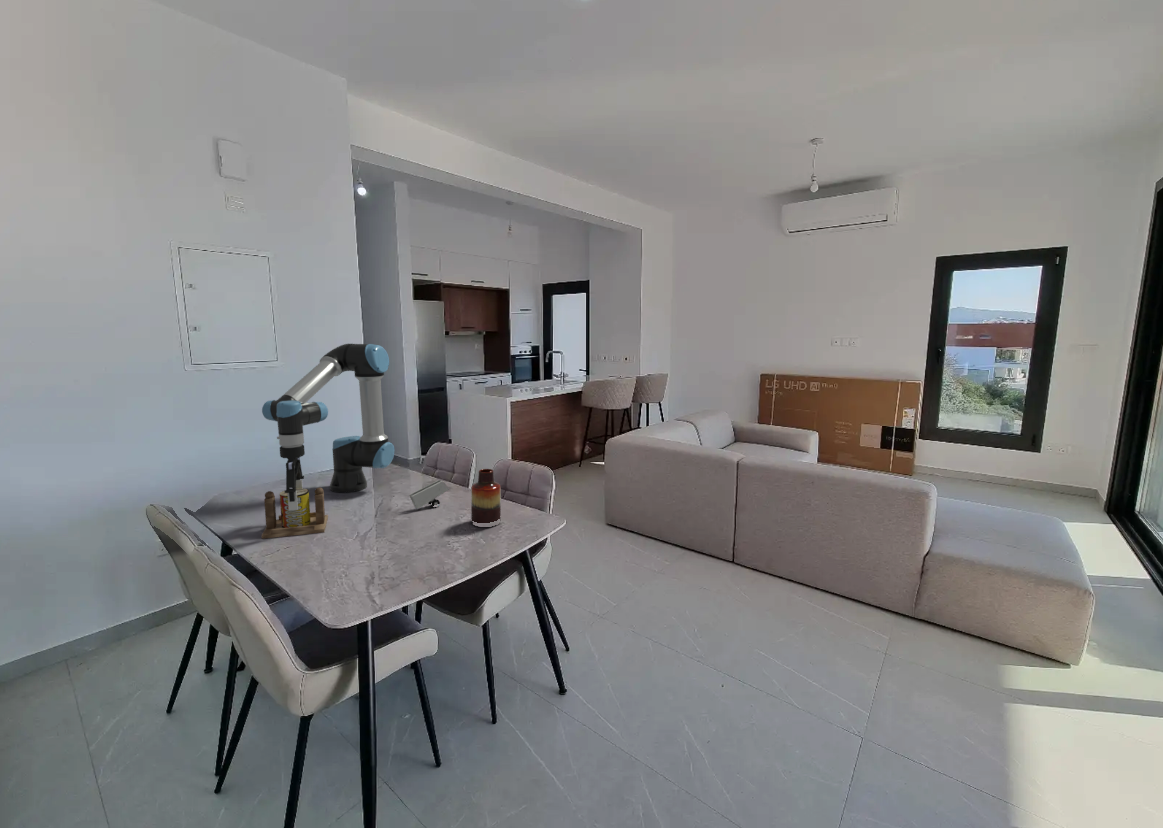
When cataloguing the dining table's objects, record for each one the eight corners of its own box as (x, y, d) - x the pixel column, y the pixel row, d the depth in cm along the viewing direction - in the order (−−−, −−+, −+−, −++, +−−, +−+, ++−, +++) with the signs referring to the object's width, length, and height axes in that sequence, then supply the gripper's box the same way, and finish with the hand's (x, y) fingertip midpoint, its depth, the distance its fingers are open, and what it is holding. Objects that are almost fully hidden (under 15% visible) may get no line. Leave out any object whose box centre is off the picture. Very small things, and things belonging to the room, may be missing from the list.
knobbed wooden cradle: (327, 517, 194) (326, 481, 191) (324, 532, 180) (322, 493, 178) (270, 523, 186) (267, 485, 184) (261, 538, 173) (258, 498, 171)
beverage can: (278, 524, 183) (276, 491, 181) (305, 518, 189) (303, 486, 187) (286, 531, 177) (284, 497, 175) (314, 524, 183) (312, 492, 181)
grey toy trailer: (421, 517, 204) (453, 497, 212) (412, 496, 200) (445, 477, 209) (417, 514, 207) (448, 494, 215) (408, 494, 203) (440, 475, 212)
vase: (506, 523, 194) (506, 470, 191) (482, 530, 186) (482, 476, 183) (488, 515, 201) (489, 465, 198) (465, 522, 193) (465, 470, 190)
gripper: (285, 438, 189) (289, 493, 192) (272, 454, 166) (277, 516, 169) (308, 437, 191) (312, 491, 195) (299, 453, 168) (303, 514, 172)
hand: (296, 503), depth 182 cm, fingers open, 13 cm apart
